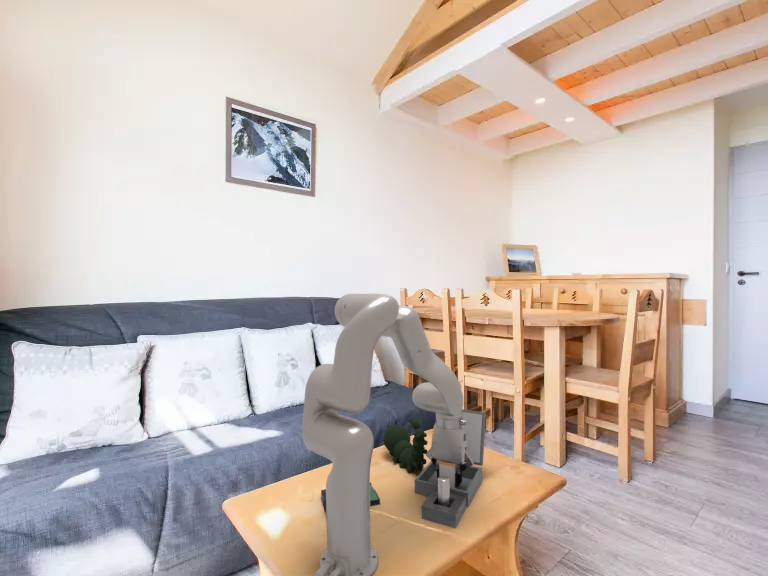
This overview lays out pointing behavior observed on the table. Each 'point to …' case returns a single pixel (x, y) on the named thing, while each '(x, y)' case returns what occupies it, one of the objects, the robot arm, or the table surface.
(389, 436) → the toy figurine
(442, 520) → the socket block
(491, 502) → the table surface
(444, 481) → the rod
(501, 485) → the table surface
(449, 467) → the block
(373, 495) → the disk drive
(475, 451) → the lid
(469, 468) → the case
